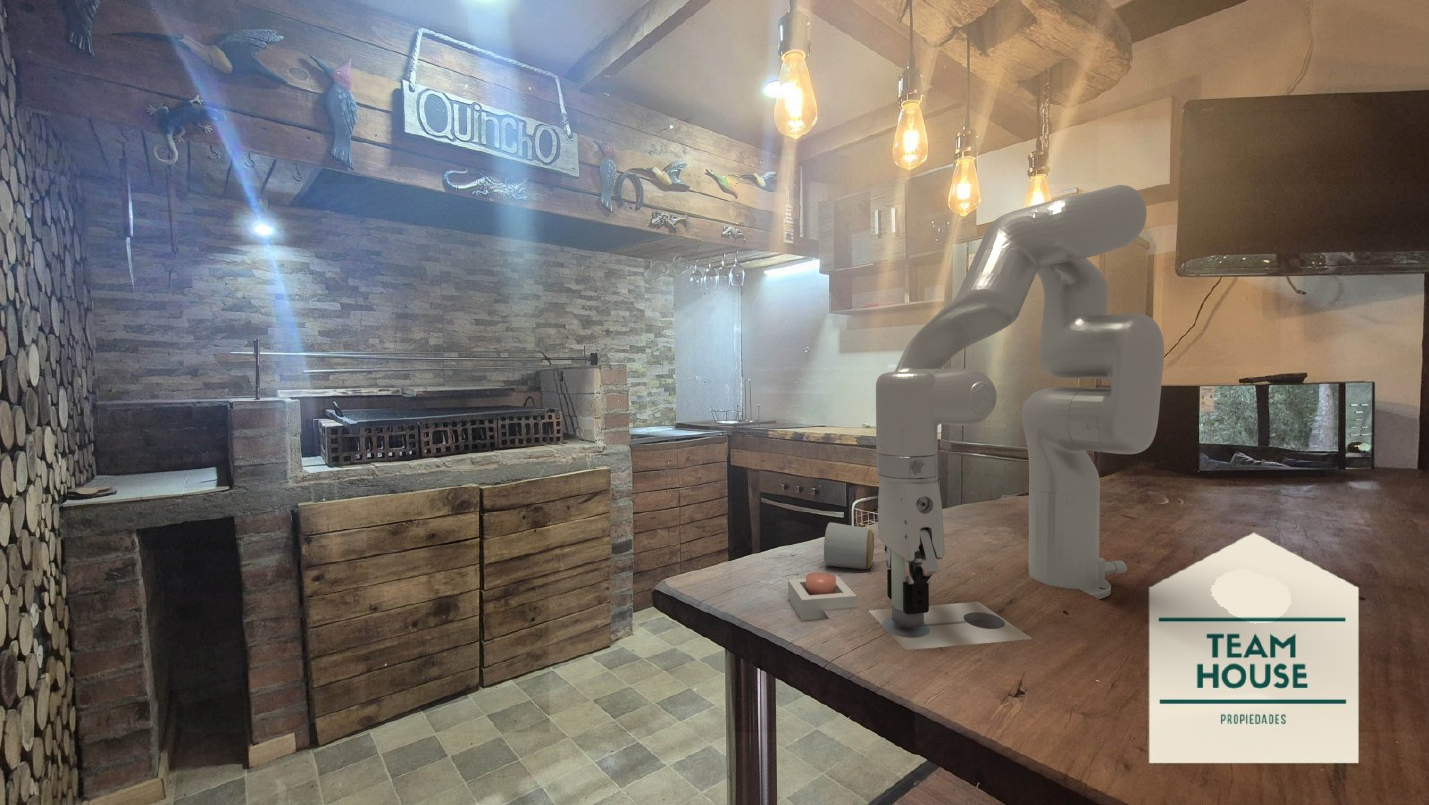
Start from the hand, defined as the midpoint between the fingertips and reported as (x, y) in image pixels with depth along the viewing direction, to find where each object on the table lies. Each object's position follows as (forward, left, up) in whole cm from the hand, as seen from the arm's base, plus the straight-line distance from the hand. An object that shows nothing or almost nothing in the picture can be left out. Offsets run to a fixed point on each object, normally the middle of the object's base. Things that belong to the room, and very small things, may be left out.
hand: (907, 603), depth 74 cm
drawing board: (-5, 0, -4) cm, 7 cm away
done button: (+8, -11, -2) cm, 14 cm away
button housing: (+8, -11, -4) cm, 14 cm away
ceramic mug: (-2, -29, -5) cm, 29 cm away
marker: (0, 0, -2) cm, 2 cm away
